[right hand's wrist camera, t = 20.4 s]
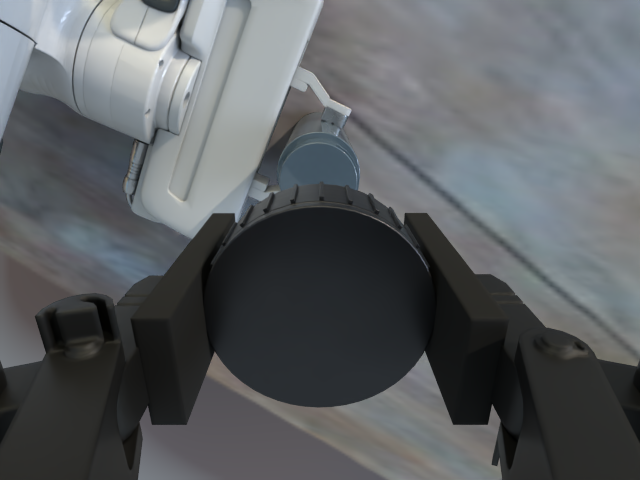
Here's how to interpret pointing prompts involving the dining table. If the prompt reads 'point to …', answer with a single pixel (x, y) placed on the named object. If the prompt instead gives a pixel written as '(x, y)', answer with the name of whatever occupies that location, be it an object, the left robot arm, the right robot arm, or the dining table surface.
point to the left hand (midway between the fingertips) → (329, 157)
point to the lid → (319, 297)
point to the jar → (318, 155)
